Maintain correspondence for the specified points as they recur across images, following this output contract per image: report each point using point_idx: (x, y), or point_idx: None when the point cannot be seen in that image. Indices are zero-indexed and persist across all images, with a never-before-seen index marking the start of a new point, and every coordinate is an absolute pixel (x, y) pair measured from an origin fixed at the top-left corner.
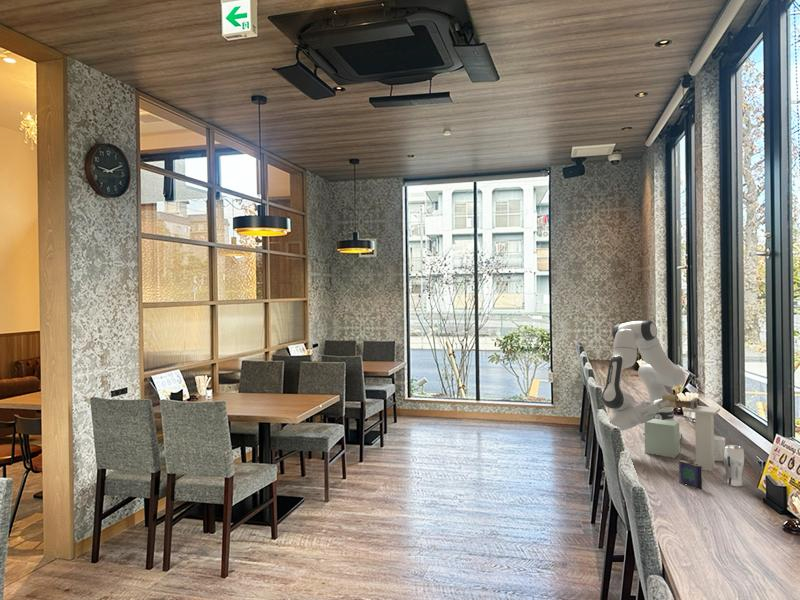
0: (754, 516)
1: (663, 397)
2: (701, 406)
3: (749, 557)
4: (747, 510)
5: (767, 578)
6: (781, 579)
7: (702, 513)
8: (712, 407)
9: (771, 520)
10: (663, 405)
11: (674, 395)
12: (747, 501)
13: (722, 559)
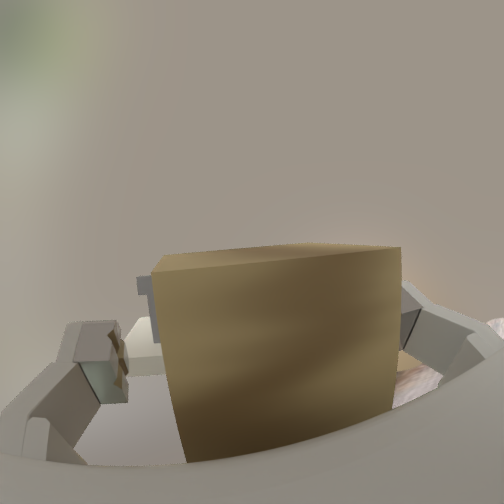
0: (433, 375)
1: (389, 279)
2: (143, 334)
3: (497, 333)
4: (427, 384)
5: (499, 323)
6: (491, 323)
7: None
8: (142, 323)
9: (421, 369)
10: (452, 351)
11: (258, 247)
12: (396, 402)
13: None
